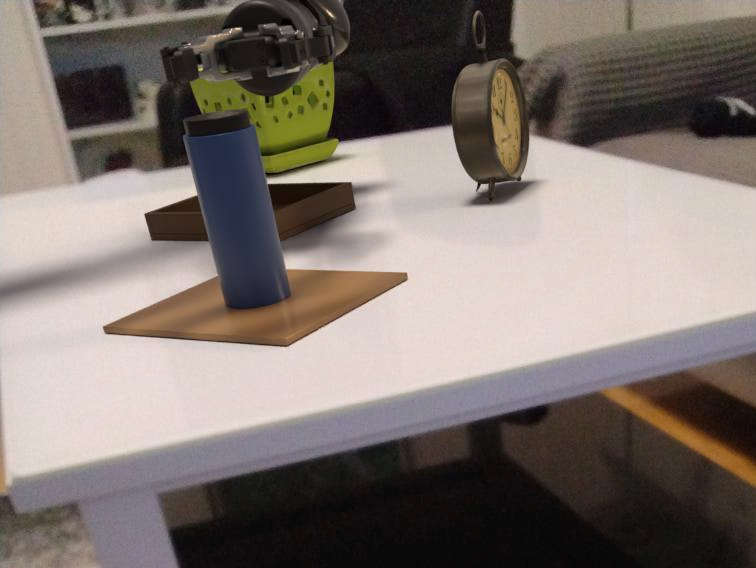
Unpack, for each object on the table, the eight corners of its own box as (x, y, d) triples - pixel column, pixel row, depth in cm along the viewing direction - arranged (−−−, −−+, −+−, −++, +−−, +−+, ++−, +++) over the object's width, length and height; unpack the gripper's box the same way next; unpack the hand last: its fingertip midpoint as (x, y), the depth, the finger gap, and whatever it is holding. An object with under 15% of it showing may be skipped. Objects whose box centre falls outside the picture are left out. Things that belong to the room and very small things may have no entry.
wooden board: (104, 332, 79) (102, 326, 79) (237, 273, 90) (235, 267, 90) (286, 346, 71) (285, 338, 70) (408, 278, 82) (407, 272, 81)
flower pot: (353, 156, 137) (335, 48, 130) (273, 180, 129) (248, 65, 122) (287, 154, 145) (266, 52, 138) (208, 176, 137) (181, 69, 130)
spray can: (218, 299, 81) (172, 118, 74) (280, 284, 83) (241, 106, 76) (234, 313, 77) (186, 124, 70) (299, 297, 79) (259, 111, 72)
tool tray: (151, 239, 107) (143, 213, 105) (232, 208, 116) (226, 184, 114) (279, 241, 99) (273, 213, 97) (356, 208, 108) (351, 181, 106)
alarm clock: (502, 203, 101) (483, 13, 92) (452, 206, 103) (429, 19, 94) (536, 179, 109) (522, 2, 100) (489, 182, 111) (471, 8, 102)
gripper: (185, 8, 93) (132, 17, 80) (338, -12, 92) (311, -6, 79) (206, 100, 97) (159, 123, 84) (353, 81, 96) (329, 103, 83)
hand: (233, 61), depth 81 cm, fingers open, 8 cm apart
